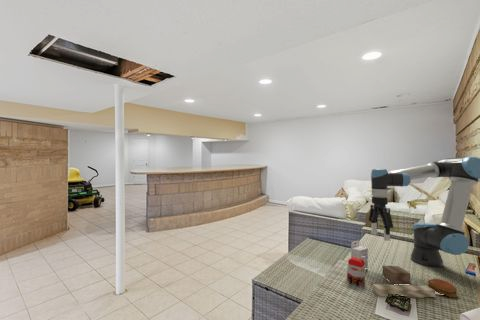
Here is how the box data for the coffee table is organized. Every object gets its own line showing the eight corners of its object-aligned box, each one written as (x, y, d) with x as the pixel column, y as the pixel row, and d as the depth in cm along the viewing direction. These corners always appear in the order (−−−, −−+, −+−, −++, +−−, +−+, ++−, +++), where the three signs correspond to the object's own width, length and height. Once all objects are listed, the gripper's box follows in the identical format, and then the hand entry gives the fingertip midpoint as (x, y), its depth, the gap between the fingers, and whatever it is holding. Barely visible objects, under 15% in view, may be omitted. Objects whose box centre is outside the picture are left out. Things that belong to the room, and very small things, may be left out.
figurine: (344, 281, 107) (344, 256, 108) (349, 276, 112) (349, 252, 113) (364, 287, 101) (363, 261, 102) (368, 282, 107) (368, 257, 107)
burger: (463, 298, 94) (462, 287, 94) (440, 298, 94) (440, 286, 95) (442, 287, 104) (442, 276, 104) (422, 286, 104) (422, 276, 105)
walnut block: (398, 278, 112) (398, 266, 113) (410, 286, 104) (410, 273, 105) (382, 277, 112) (382, 265, 113) (393, 285, 105) (393, 272, 105)
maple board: (427, 292, 98) (427, 285, 99) (435, 297, 94) (435, 290, 95) (373, 291, 99) (373, 284, 99) (378, 296, 95) (378, 288, 95)
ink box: (360, 272, 117) (359, 244, 118) (350, 269, 121) (350, 241, 122) (368, 269, 122) (367, 242, 123) (359, 266, 126) (358, 239, 127)
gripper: (361, 194, 134) (362, 231, 133) (386, 199, 111) (386, 243, 110) (374, 194, 134) (374, 231, 133) (401, 199, 111) (402, 244, 110)
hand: (380, 237), depth 121 cm, fingers open, 10 cm apart
